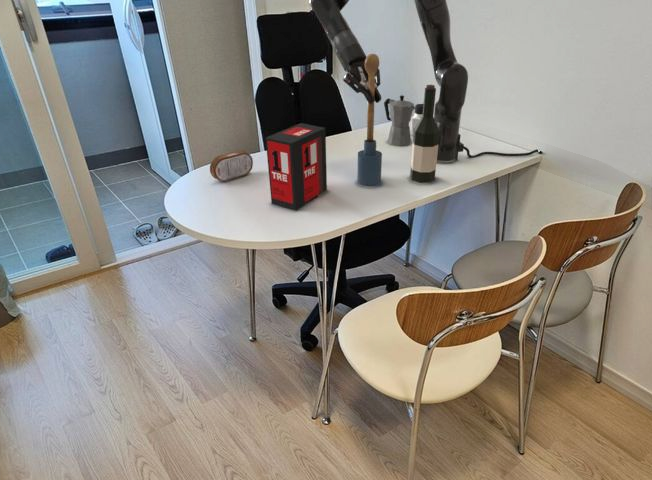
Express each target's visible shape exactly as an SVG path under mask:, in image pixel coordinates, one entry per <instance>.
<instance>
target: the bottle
mask: <svg viewBox="0 0 652 480" xmlns="http://www.w3.org/2000/svg"><path fill="white" fill-rule="evenodd" d="M382 161H383V153H382V152H381V150H380V151H379V150H377V140H376V139H373V142H371V143H370V142H367V139H364V141H363V149H361V150H359V151H358V152H357V171H356V172H357V175H356V176H357V178H356V181H357V184H359V185H360V186H363V187H376V186H379V185H380V184H381V182H382V165H383V163H382Z"/></svg>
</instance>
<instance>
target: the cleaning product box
mask: <svg viewBox="0 0 652 480" xmlns="http://www.w3.org/2000/svg"><path fill="white" fill-rule="evenodd" d="M326 136H327V135H326V127H323V126H319V125H312V124H308V123H303V122H300V123H298V124H295V125H292V126H291V127H288V128H286V129H283V130H280V131H278V132H275V133H274V134H270V135H268V136H266V137H265V146H266V147H265V148H266V157H267V169H268V179H269V180H268V181H269V191H270V200H271V201H270V202H271V205H274V206H276V207H277V206H278V207H281V208H285V209H289V210H292V211H298V210H299V209H301V208H302V207H305V206H306V205H307V204H310V203H311V202H313V201H314V200H316V199H317V198H319V195H321V194H322V193H324V192H326V191H327V190H328V179H327V178H328V177H327V175H328V174H327V173H328V172H327V137H326Z"/></svg>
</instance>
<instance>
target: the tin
mask: <svg viewBox="0 0 652 480" xmlns="http://www.w3.org/2000/svg"><path fill="white" fill-rule="evenodd" d="M253 165H254V160H253V157H252V155H251V154H250V153H248V152H246V150H242V149H238V150H235V151H231V152H227V153H223V154H218V155H217V156H215V157H214V158H213V159H212V160H211V162H210V165H209V172H210V175H211V176H212V178H214V179H215V180H217V181H219V182H228V181H233V180H235V179H239V178H242V177H245V176H247V175H249V174H250V173H251V171H252V170H253Z"/></svg>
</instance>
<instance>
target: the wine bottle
mask: <svg viewBox="0 0 652 480" xmlns="http://www.w3.org/2000/svg"><path fill="white" fill-rule="evenodd" d="M423 92H424V94H423V103H424V104H423V116H422V117H421V119H420V120H419V122H418V123H417V125H416V126H415V127H414V131H413V136H412V145H411V146H412V147H411V160H410V172H409V173H410V174H409V178H410V180H411V181H412V182H415V183H419V184H430V183H432V182H433V181H435V180H436V172H437V171H436V170H437V153H438V143H439V134H440V131H439V129H438V126H437V124H436V122H435V120H434V112H435V104H436V95H437V89H436V86H435V84H426V87H424V91H423Z"/></svg>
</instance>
